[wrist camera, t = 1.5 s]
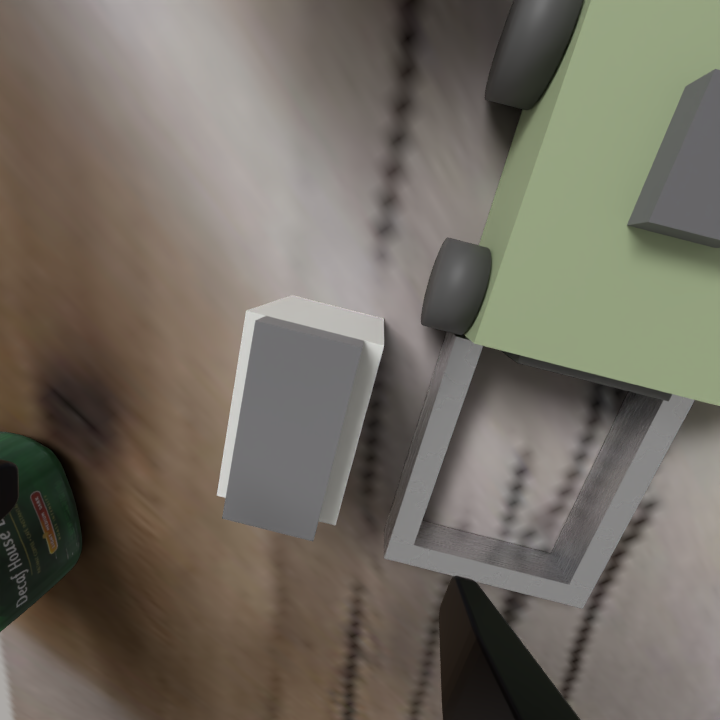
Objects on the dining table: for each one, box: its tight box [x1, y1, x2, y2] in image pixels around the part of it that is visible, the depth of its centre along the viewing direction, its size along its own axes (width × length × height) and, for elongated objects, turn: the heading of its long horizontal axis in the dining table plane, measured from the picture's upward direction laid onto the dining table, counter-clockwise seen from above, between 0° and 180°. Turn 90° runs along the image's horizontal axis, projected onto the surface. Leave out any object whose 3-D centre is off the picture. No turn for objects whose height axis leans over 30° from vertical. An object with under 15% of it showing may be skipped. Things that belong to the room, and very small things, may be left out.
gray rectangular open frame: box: [384, 332, 695, 609], centre depth 18 cm, size 10×12×2 cm
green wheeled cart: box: [421, 0, 720, 406], centre depth 13 cm, size 13×12×5 cm
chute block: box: [217, 295, 384, 541], centre depth 15 cm, size 4×7×7 cm, turn 166°
